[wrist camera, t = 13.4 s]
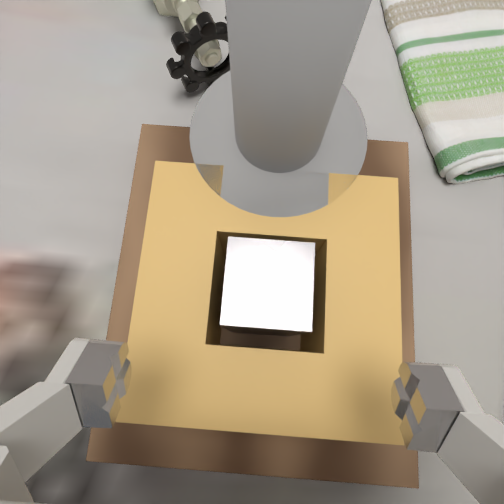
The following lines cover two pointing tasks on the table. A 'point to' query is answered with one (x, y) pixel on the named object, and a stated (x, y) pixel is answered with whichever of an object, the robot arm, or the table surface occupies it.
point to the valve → (195, 43)
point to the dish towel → (454, 80)
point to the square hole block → (274, 228)
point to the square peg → (268, 287)
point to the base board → (239, 443)
